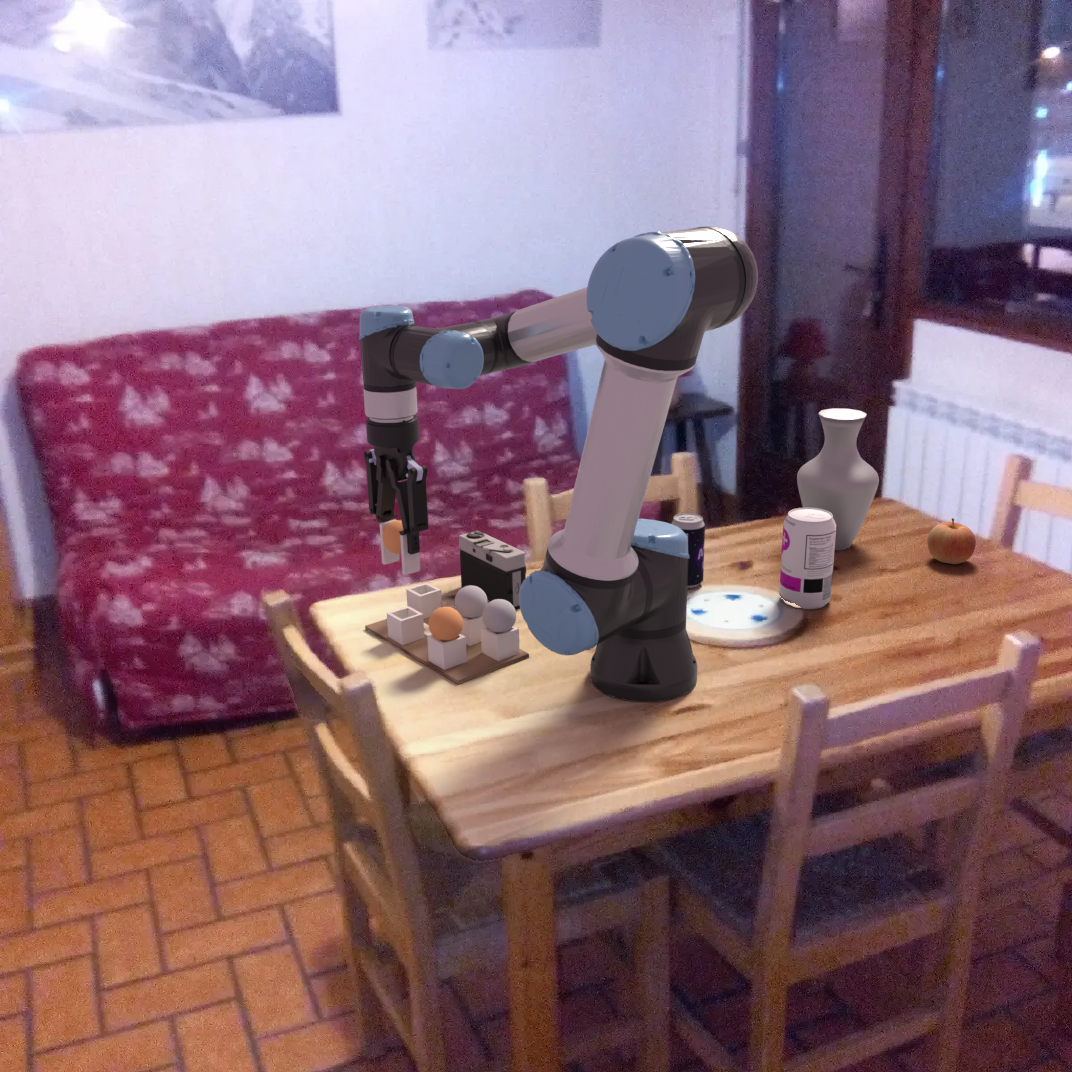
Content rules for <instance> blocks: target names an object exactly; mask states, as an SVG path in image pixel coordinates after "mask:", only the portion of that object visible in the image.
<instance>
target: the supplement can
mask: <svg viewBox="0 0 1072 1072" xmlns="http://www.w3.org/2000/svg"><path fill="white" fill-rule="evenodd" d="M785 517H786V518H785V519H784V520H783V523H782V524H783V525H782V526H783V527H782V537H781V538H782V539H781V540H782V541H781V543H782V544H781V557H780V558H781V560H780V573H779V575H780V576H779V578H780V579H779V592H778V593H779V594H778V596H779V595H780V596H781V598H783V599H784V600H785V601H788V602H790V603H795V604H796V605H798V606H800V607H801V608H803V609H802V610H817V609H820V608H821V609H822V608H823V607H825V606H826V605H827V604H828V603H830V602H831V599H832V586H833V575H834V573H833V571H834V561H835V550H834V549H835V536H836V523H835V521H834V519H833V515H832V513H830V512H828V511H826V510H823V509H817V508H803V507H798V508H793V509H791V510H789V511H788V513H787V515H786V516H785ZM780 596H779V597H780ZM781 598H780V599H781Z"/></svg>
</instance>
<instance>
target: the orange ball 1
mask: <svg viewBox="0 0 1072 1072" xmlns="http://www.w3.org/2000/svg"><path fill="white" fill-rule="evenodd" d="M395 520H396V521H393V522H391V523H389V524H388V525H387V526H386V527H385V529H384V531H383V535H382V539H383V543H384V545H385V547H386V548H387V549H388V550H389V551H391V552H393V553H396V554H399V555H401V541H400V533H399V531H403V526H402V521H401V519H400V520H399V519H398V520H397V519H395Z"/></svg>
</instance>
